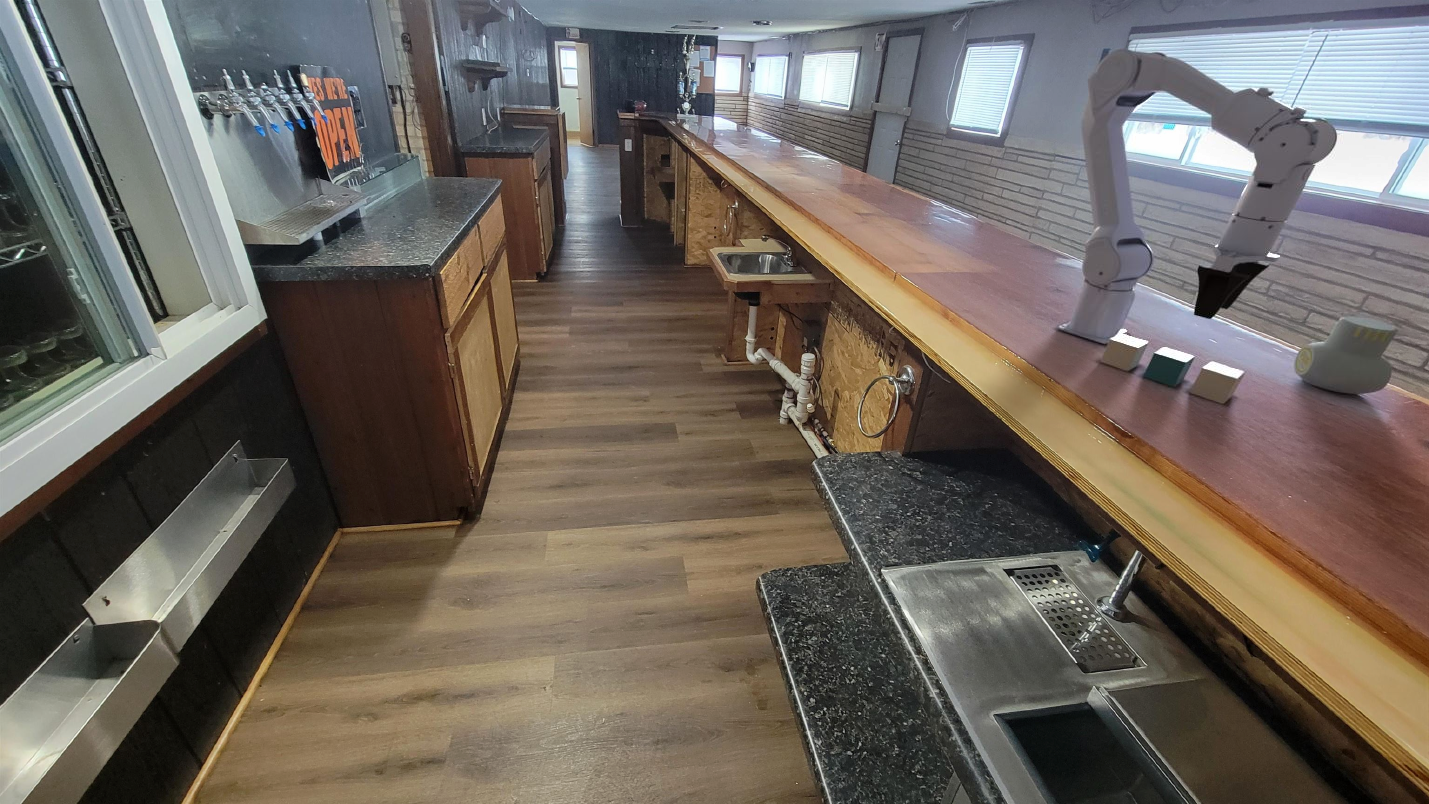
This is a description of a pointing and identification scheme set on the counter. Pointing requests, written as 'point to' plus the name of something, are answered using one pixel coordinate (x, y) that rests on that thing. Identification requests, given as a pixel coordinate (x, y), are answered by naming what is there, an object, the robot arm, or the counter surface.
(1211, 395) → the line block
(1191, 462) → the counter surface
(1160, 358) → the teal block
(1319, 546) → the counter surface
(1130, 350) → the line block
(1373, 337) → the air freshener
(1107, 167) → the robot arm
